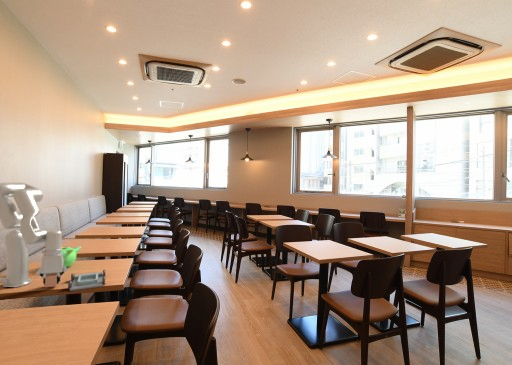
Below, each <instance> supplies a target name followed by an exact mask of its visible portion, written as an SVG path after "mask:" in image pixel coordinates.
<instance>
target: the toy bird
mask: <svg viewBox="0 0 512 365" xmlns="http://www.w3.org/2000/svg"><path fill="white" fill-rule="evenodd" d="M81 248H82V246H78V247H75V248H72V247H69V246H62V247H61V253H62V254H63V263H64V266H65V267H66V268H67V267H70V266H71V265H73V264H74V262H75V261H76V260H77V252H79V250H81Z"/></svg>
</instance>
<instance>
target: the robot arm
mask: <svg viewBox="0 0 512 365" xmlns="http://www.w3.org/2000/svg"><path fill="white" fill-rule="evenodd" d="M9 198H13V199H14V201H15V203H14V202H13V201H12V200H10V199H9ZM43 199H44V193H43V192H42V190H40V188H37V187H35V186H33V185H30V184H27V183H24V182H0V223H1V225H2V228H4V229H5V230H12V231H9V232H7V233H6V234H5V236H4V243H5V247H6V277H4V278H0V284H2V283H3V284H2V287H3V288H4V287H14V288H19V287H23V286H26V285H29V284H30V283H31V282H32V279H31V277H29V251H28V250H29V249H28V248H27V247H26V245H36V244H42V243H44V244H45V245H44V247H45V248H44V249H43V250H41V254H44V255H42V258H41V264H40V267H39V269H37V270H36V271H35V274H37V275H38V276H40V277H41V278H42V280H43V281H42V283H43V285H44V286H45V277H46V275H47V274H48V273H57V275H58V276H57V285H59V283H60V282H61V276H63V274H65V273H66V272H68V270H69V268H67V267H65V266H64V263H63V254H62V253H61V247H63V246H62V243H63V231H62V230H59V229H52V228H40V227H39V224H38V221H37V219H36V217H37V216H38V215H39V214H41V209H40V206H39V204H38V203H39V202H41V201H42V200H43ZM15 204H16V205H17V207H16V205H15ZM17 208H18V209H17ZM18 210H19V211H18Z"/></svg>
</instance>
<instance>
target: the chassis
mask: <svg viewBox="0 0 512 365" xmlns="http://www.w3.org/2000/svg"><path fill="white" fill-rule="evenodd" d="M105 284H106V269H102V271H96V272H87V273H79V274H76V273H71V276H70V280H68V282H67V285H68V286H67V288H68V290H69V291H70V292H73V291H82V290H88V289H94V288H101V287H103V286H104V285H105Z"/></svg>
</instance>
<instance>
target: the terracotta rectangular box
mask: <svg viewBox="0 0 512 365" xmlns="http://www.w3.org/2000/svg"><path fill="white" fill-rule="evenodd" d="M57 276H58V275H57V273H48V274H47V275H46V277H45V285H44V288H51V287H56V286H57V285H58V284H57Z"/></svg>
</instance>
